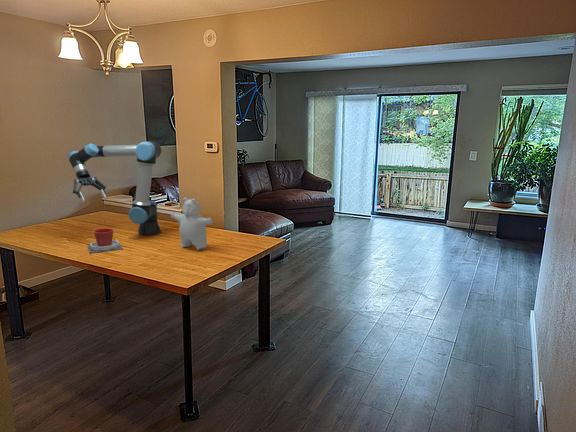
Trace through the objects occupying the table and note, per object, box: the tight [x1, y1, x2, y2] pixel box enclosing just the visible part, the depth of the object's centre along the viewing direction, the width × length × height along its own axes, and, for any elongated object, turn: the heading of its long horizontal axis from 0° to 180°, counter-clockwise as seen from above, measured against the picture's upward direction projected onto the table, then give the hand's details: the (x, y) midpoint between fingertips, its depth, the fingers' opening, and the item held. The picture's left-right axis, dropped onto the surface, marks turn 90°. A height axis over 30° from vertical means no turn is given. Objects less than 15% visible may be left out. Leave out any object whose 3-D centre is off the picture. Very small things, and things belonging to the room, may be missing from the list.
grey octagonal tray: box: [87, 239, 124, 254], centre depth 245 cm, size 18×18×3 cm
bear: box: [170, 197, 214, 251], centre depth 245 cm, size 35×14×32 cm, turn 60°
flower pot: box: [93, 227, 114, 247], centre depth 244 cm, size 11×11×10 cm
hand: (94, 200), depth 253 cm, fingers open, 13 cm apart
